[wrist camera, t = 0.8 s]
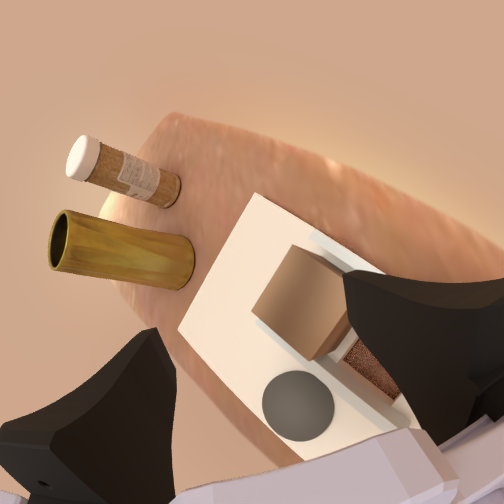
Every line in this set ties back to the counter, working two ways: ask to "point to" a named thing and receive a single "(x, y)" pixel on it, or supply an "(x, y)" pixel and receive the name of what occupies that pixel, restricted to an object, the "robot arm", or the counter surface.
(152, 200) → the sprinkles bottle
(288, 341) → the walnut block
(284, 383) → the coaster
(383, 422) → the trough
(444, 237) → the counter surface
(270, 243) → the board
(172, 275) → the vase
